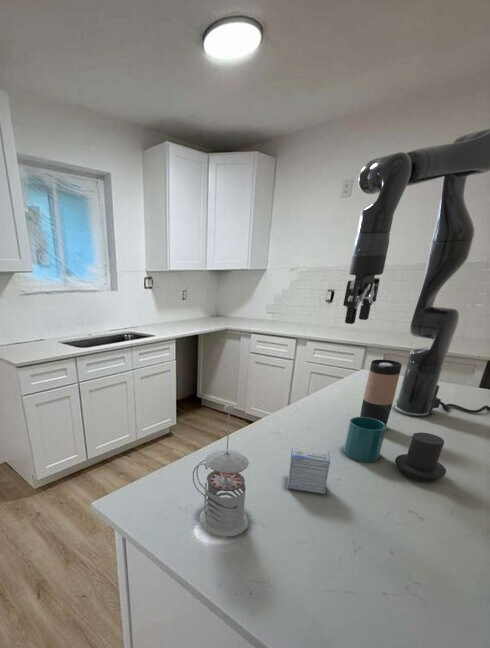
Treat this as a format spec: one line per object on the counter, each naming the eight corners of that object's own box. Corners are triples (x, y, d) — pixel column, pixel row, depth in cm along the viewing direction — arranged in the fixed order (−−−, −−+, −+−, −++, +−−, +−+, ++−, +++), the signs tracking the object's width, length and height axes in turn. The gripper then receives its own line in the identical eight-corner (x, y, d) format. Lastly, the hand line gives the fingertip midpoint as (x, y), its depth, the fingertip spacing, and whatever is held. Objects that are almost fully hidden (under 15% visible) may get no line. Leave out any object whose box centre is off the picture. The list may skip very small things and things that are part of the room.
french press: (237, 543, 67) (246, 420, 57) (182, 522, 72) (182, 407, 62) (255, 513, 74) (266, 400, 64) (204, 496, 80) (207, 390, 70)
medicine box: (323, 484, 83) (329, 451, 80) (324, 495, 79) (330, 461, 76) (287, 478, 86) (291, 446, 82) (286, 489, 82) (291, 455, 78)
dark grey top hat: (421, 461, 91) (431, 427, 87) (454, 484, 82) (467, 447, 78) (383, 464, 90) (392, 430, 86) (412, 487, 81) (424, 450, 77)
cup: (365, 445, 99) (372, 415, 96) (385, 460, 92) (393, 429, 88) (337, 447, 99) (343, 417, 95) (355, 463, 91) (362, 431, 87)
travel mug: (379, 421, 113) (394, 359, 105) (390, 432, 106) (407, 366, 98) (353, 421, 114) (366, 359, 106) (363, 432, 107) (378, 366, 99)
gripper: (374, 254, 82) (360, 326, 88) (396, 253, 90) (382, 319, 97) (340, 254, 87) (330, 323, 93) (365, 254, 95) (353, 316, 102)
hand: (356, 321), depth 95 cm, fingers open, 8 cm apart
